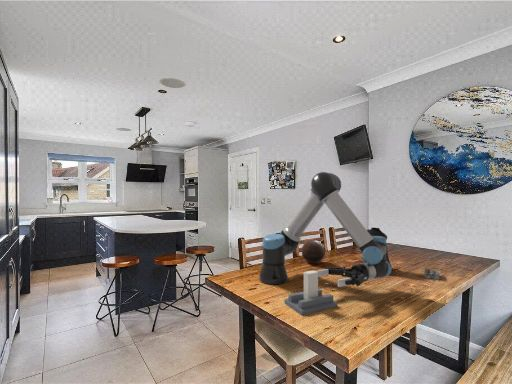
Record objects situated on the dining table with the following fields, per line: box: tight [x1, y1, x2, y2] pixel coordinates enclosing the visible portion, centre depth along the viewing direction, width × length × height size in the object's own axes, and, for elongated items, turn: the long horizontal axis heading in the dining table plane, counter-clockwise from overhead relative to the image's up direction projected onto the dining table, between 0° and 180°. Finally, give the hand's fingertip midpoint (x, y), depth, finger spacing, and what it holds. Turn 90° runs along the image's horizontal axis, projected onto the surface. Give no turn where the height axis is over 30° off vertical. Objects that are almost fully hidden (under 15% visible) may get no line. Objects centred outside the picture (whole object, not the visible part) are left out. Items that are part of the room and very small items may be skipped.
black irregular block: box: [360, 227, 392, 268], centre depth 161 cm, size 16×19×25 cm
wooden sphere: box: [301, 239, 326, 264], centre depth 175 cm, size 15×15×15 cm
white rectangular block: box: [303, 270, 319, 299], centre depth 110 cm, size 3×5×12 cm, turn 116°
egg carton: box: [423, 267, 441, 280], centre depth 147 cm, size 10×7×4 cm
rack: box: [283, 288, 339, 316], centre depth 110 cm, size 12×18×4 cm, turn 116°
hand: (326, 278), depth 113 cm, fingers open, 13 cm apart
